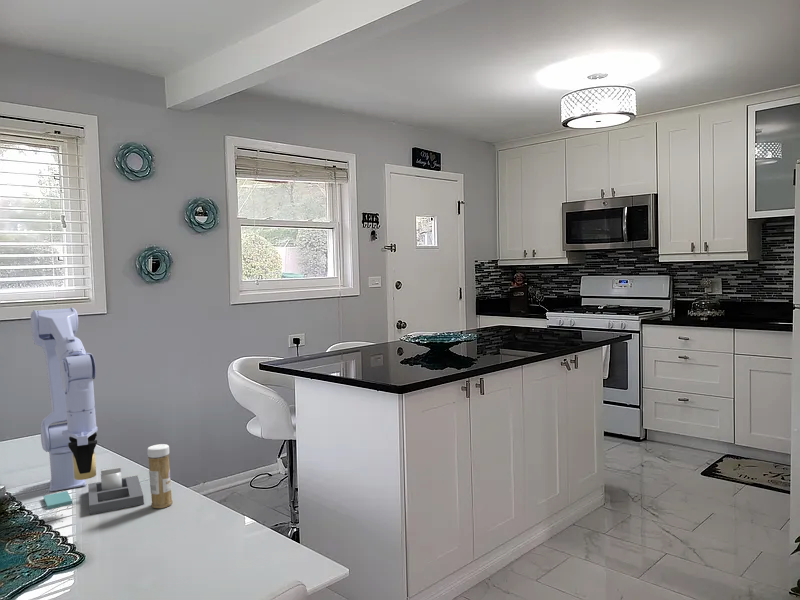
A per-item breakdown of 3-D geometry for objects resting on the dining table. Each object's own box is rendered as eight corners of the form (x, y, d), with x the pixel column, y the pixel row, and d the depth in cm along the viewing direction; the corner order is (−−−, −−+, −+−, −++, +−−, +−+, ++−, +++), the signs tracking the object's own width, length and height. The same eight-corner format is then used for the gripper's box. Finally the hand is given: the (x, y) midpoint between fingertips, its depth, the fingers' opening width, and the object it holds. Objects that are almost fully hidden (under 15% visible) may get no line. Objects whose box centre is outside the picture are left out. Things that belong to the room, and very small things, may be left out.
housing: (88, 492, 154) (88, 484, 153) (137, 483, 158) (137, 475, 158) (89, 514, 139) (89, 505, 139) (143, 504, 144) (143, 495, 144)
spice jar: (174, 505, 142) (171, 446, 142) (153, 510, 140) (149, 450, 139) (169, 499, 146) (166, 442, 145) (148, 504, 144) (145, 446, 143)
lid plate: (43, 499, 150) (43, 496, 150) (67, 494, 153) (67, 490, 153) (47, 509, 143) (47, 506, 143) (72, 503, 146) (72, 500, 146)
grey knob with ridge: (101, 492, 153) (100, 467, 153) (121, 488, 155) (120, 464, 155) (102, 498, 149) (100, 473, 149) (123, 494, 151) (121, 469, 151)
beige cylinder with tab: (74, 475, 143) (72, 449, 143) (96, 471, 145) (94, 445, 145) (74, 481, 139) (72, 454, 139) (96, 477, 141) (94, 450, 141)
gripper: (61, 405, 146) (65, 464, 147) (59, 418, 133) (63, 482, 134) (95, 401, 149) (99, 458, 150) (96, 413, 136) (101, 476, 137)
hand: (85, 469), depth 142 cm, fingers closed on beige cylinder with tab, 4 cm apart
